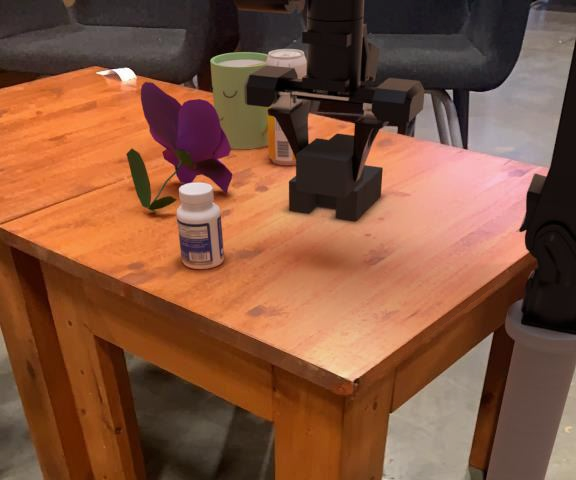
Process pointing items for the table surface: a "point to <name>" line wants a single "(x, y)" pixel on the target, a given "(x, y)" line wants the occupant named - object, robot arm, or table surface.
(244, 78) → the mug
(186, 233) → the pill bottle
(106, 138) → the table surface
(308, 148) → the black block
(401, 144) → the table surface
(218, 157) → the flower
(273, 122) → the beer can
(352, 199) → the black notched block
